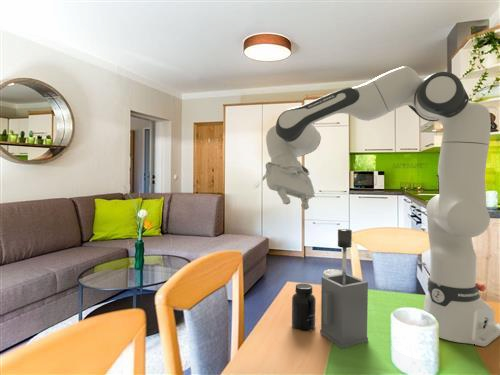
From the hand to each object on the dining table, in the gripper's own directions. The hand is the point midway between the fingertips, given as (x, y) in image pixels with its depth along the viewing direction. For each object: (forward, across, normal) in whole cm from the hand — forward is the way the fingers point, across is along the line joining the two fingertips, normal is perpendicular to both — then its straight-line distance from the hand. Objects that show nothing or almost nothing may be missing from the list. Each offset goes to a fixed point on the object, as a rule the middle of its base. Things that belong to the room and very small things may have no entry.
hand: (296, 206), depth 102 cm
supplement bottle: (+33, +5, +12) cm, 36 cm away
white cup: (+26, +27, +13) cm, 40 cm away
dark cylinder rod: (+27, +4, -4) cm, 28 cm away
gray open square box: (+38, +8, +2) cm, 39 cm away
